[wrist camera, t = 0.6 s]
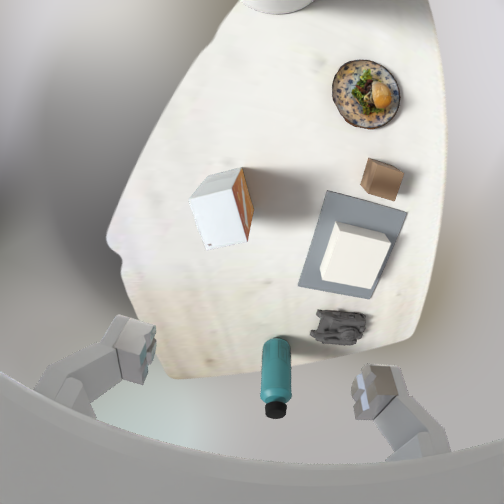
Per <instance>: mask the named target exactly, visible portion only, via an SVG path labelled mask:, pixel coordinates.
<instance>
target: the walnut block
mask: <svg viewBox="0 0 504 504" xmlns="http://www.w3.org/2000/svg"><path fill="white" fill-rule="evenodd" d="M403 175H404V173H403V172H401V171H400V170H398V169H397V168H395V167H394V166H392V165H389V164H386V163H383V162H380V161H376V160H373V159H370V158H368V161H367V164H366V168H365V171H364V174H363V178H362V181H361V184H360V185H361V186H362V187H363V188H364V189H365V191H366V192H367V193H368V194H371V195H375V196H378V197H382V198H385V199H388V200H392V201H395V199H396V196H397V193H398V190H399V187H400V184H401V181H402V178H403Z"/></svg>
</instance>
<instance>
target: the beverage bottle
mask: <svg viewBox="0 0 504 504" xmlns="http://www.w3.org/2000/svg"><path fill="white" fill-rule="evenodd" d="M290 349H291V348H290V346H289V344H288V342H287V341H285V340H283V339H279V338H274V339H270V340H268V341H267V342H266V343H265V344H264V346H263V356H262V363H261V364H262V369H261V370H262V378H261V379H262V380H261V395H260V397H261V399H262V400H263V401H264V402H265V403H266V405H265V411H266V416H267V417H269V418H273V419H279V418H283V417H284V416H285V415H286V409H287V405H286V404H285V403H287V402H288V401H289V400H290V399H291V397H292V393H291V359H290V358H291V352H290Z"/></svg>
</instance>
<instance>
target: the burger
mask: <svg viewBox="0 0 504 504" xmlns="http://www.w3.org/2000/svg"><path fill="white" fill-rule="evenodd" d="M332 97H333V101H334V103H335V104H336V106H337V108H338V110H339V112H340V114H341V115H342V116H343V117H344V119H345V121H346V122H348V123H349V124H351V125H353V126H355V127H357V126H358V127H360V128H361V127H362V128H364V129H375V128H378V127H381V126H383V125H385V124H387V123H388V122H389V121H391V120H392V119H393V118H394V116H395V114H396V113H397V110H398V108H399V103H400V98H401V97H400V91H399V87H398V84H397V82H396V80H395V79H394V77H393V75H392V74H391V73H390V72H389V71H388V70H387V69H386V68H385V67H383V66H382V65H380V64H378V63H376V62H373V61H370V60H354V61H349V62H347V63H345V64H344V65H342V66H341V67H340V68H339V70H338V72H337V74H336V75H335V77H334V80H333V84H332Z"/></svg>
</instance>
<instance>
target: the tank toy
mask: <svg viewBox="0 0 504 504" xmlns="http://www.w3.org/2000/svg"><path fill="white" fill-rule="evenodd" d="M316 315H317V316H318V317H319V318H320V317H321V320H320V323H319V326H318V329H317V331H315V330H311V332H310V335H311V336H312V337H314V338H316V340H317V341H321V342H322V344H324V343H325V344H338V345H344V346H345V345H353V344H356V342H357V339H361V337H362V335H363V334H362V332H364V330H365V323H366V321H365V317H366V316H365V315H364V314H355V313H354V314H353V313H345V312H344V313H342V312H340V311H336V312H335V311H333V312H332V311H322V310H317V313H316Z"/></svg>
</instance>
